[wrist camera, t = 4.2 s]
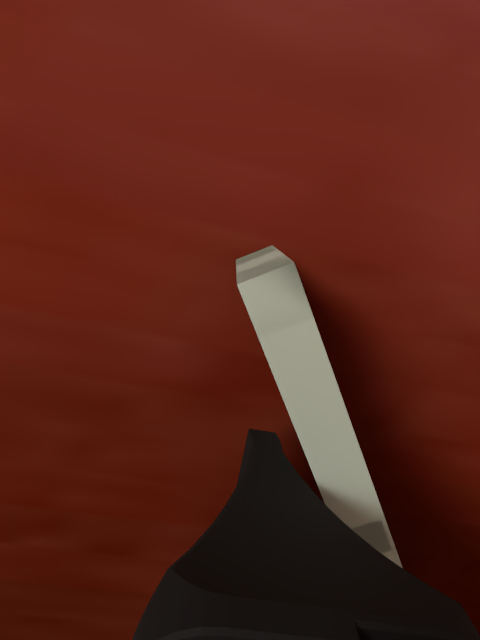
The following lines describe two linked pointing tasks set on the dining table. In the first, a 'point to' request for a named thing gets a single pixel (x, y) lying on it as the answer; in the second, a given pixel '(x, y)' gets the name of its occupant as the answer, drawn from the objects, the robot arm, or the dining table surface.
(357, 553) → the robot arm
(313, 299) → the dining table surface
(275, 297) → the bar
